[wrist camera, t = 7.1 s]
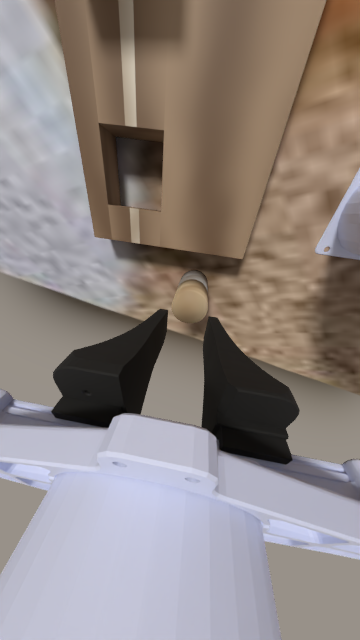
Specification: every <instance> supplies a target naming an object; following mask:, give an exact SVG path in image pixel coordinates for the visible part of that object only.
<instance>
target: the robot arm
mask: <svg viewBox="0 0 360 640" xmlns="http://www.w3.org/2000/svg"><path fill="white" fill-rule="evenodd" d="M327 246H329V247H330V249H329V251H327V252H324V248H325V247H327ZM315 252H316V253H317V254H322V255H329V256H336V257H343V258H350V259H357V260H360V168H359V170H358V172H357V174H356V176H355V177H354V179H353V181H352V183H351V185H350V187H349V188H348V190H347V192H346V194H345V196H344V197H343V199H342V201H341V203H340V205H339V206H338V208H337V210H336V212H335V214H334V216H333V217H332V219H331V221H330V223H329V225H328V226H327V228H326V230H325V232H324V234H323V235H322V237H321V239H320V241H319V243H318V245H317V246H316V248H315ZM167 317H168V310H164V309H159V310H158V311H157V312H155V313H154V314H153V315H152V316H150V317H149V318H148V319H147V320H145V321H144V322H143V323H141V324H139V325H138V326H137V327H135V328H133V329H132V330H130V331H128V332H126V333H124V334H122V335H120V336H117V337H115V338H113V339H110V340H108V341H105V342H102V343H99V344H96V345H92V346H88V347H84V348H81V349H77V350H74V351H73V352H72V353H71V354H70V355H69V356H68V357H67V358H66V359H65V360H64V361H63V362H62V363H61V364H60V365H59V366H58V367H57V368H56V369H55V371H54V372H53V378H54V381H55V383H56V385H57V386H58V388H59V390H60V392H61V393H62V395H63V397H62V398H61V399H60V401H59V402H58V403H57V404H56V406H55V407H50V406H45V405H40V404H35V403H29V402H25V401H20V400H15V399H13V397H12V396H11V395H10V394H9V393H8V392H7V391H5V390H3V389H0V478H3V479H7V480H11V481H14V482H18V483H21V484H25V485H29V486H32V487H36V488H39V489H43V490H47V491H48V492H47V494H46V496H45V497H44V499H43V501H42V503H41V504H40V506H39V508H38V510H37V511H36V513H35V515H34V517H33V518H32V520H31V522H30V524H29V525H28V527H27V529H26V531H25V532H24V534H23V536H22V538H21V539H20V541H19V543H18V545H17V546H16V548H15V550H14V552H13V554H12V555H11V557H10V559H9V561H8V562H7V564H6V566H5V568H4V570H3V571H2V573H1V575H0V640H282V639H281V634H280V628H279V623H278V617H277V611H276V606H275V599H274V594H273V588H272V582H271V577H270V571H269V565H268V560H267V554H266V548H265V543H264V541H266V542H272V543H277V544H282V545H288V546H293V547H299V548H303V549H309V550H314V551H319V552H324V553H329V554H334V555H339V556H345V557H349V558H354V559H359V560H360V459H351V460H348V461H346V462H344V463H343V464H337V463H332V462H327V461H322V460H317V459H312V458H307V457H302V456H297V455H292V454H291V453H290V450H289V447H288V444H287V442H286V439H288V434H287V431H286V427H288V425H290V423H292V422H293V421H294V420H295V419H296V417H297V416H298V415H299V408H298V405H297V403H296V401H295V399H294V397H293V395H292V393H291V391H290V389H289V387H287V386H286V385H284V384H283V383H281V382H279V381H278V380H276V379H275V378H273V377H272V376H270V375H269V374H268V373H266V372H265V371H264V370H262V369H261V368H260V367H259V366H257V365H256V364H255V363H254V362H253V361H251V360H250V359H249V358H248V357H247V356H246V355H245V354H244V353H243V352H242V351H241V350H240V349H239V348H238V347H237V346H236V344H235V343H234V342H233V341H232V340H231V338H230V337H229V335H228V334H227V333H226V331H225V330H224V328H223V326H222V325H221V323H220V321H219V320H218V318H216V317H209V318H208V322H207V326H206V331H205V335H204V343H203V356H204V357H203V358H204V381H205V382H204V400H203V415H202V427H198V426H195V425H191V424H186V423H181V422H175V421H170V420H165V419H160V418H154V417H150V416H145V415H140V414H141V410H142V406H143V402H144V399H145V395H146V391H147V388H148V384H149V381H150V377H151V374H152V371H153V368H154V365H155V363H156V360H157V358H158V355H159V353H160V350H161V348H162V346H163V343H164V340H165V336H166V332H167Z"/></svg>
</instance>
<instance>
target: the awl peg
mask: <svg viewBox="0 0 360 640" xmlns="http://www.w3.org/2000/svg"><path fill="white" fill-rule="evenodd" d="M171 308H172V312H173V314H174V316H175V317H176V318H177V319H178V320H180V321H182V322H185V323H196V322H199V321H201V320H202V319H203V318H204V317H205V316H206V314H207V310H208V292H207V278H206V276H205V275H204V274H203V273H202V272H200V271H197V270H191V271H188V272H186V273H185V274H184V275H183V276H182V278H181V281H180V283H179V286H178V289H177V291H176V294H175V296H174V299H173V302H172V307H171Z"/></svg>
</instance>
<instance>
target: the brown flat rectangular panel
mask: <svg viewBox="0 0 360 640" xmlns="http://www.w3.org/2000/svg"><path fill="white" fill-rule="evenodd" d="M325 3H326V0H55V6H56V11H57V17H58V23H59V29H60V35H61V41H62V47H63V53H64V58H65V64H66V70H67V76H68V82H69V88H70V94H71V100H72V106H73V111H74V117H75V123H76V129H77V135H78V141H79V147H80V153H81V158H82V164H83V170H84V176H85V182H86V188H87V194H88V200H89V205H90V211H91V217H92V223H93V229H94V235H95V237H98V238H105V239H112V240H118V241H125V242H132V243H138V244H145V245H152V246H158V247H165V248H172V249H178V250H185V251H192V252H198V253H205V254H212V255H218V256H225V257H232V258H238V259H243V257H244V253H245V250H246V247H247V244H248V241H249V238H250V235H251V232H252V229H253V226H254V223H255V219H256V216H257V213H258V210H259V207H260V204H261V201H262V198H263V195H264V192H265V188H266V185H267V182H268V179H269V176H270V173H271V170H272V167H273V164H274V161H275V158H276V154H277V151H278V148H279V145H280V142H281V139H282V136H283V133H284V130H285V127H286V124H287V120H288V117H289V114H290V111H291V108H292V105H293V102H294V99H295V96H296V93H297V89H298V86H299V83H300V80H301V77H302V74H303V71H304V68H305V65H306V62H307V59H308V55H309V52H310V49H311V46H312V43H313V40H314V37H315V34H316V31H317V28H318V24H319V21H320V18H321V15H322V12H323V9H324V6H325ZM116 137H122V138H130V139H139V140H147V141H156V142H164V146H163V172H162V199H161V211H156V210H149V209H142V208H135V207H127V206H121V200H120V188H119V175H118V162H117V150H116Z"/></svg>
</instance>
